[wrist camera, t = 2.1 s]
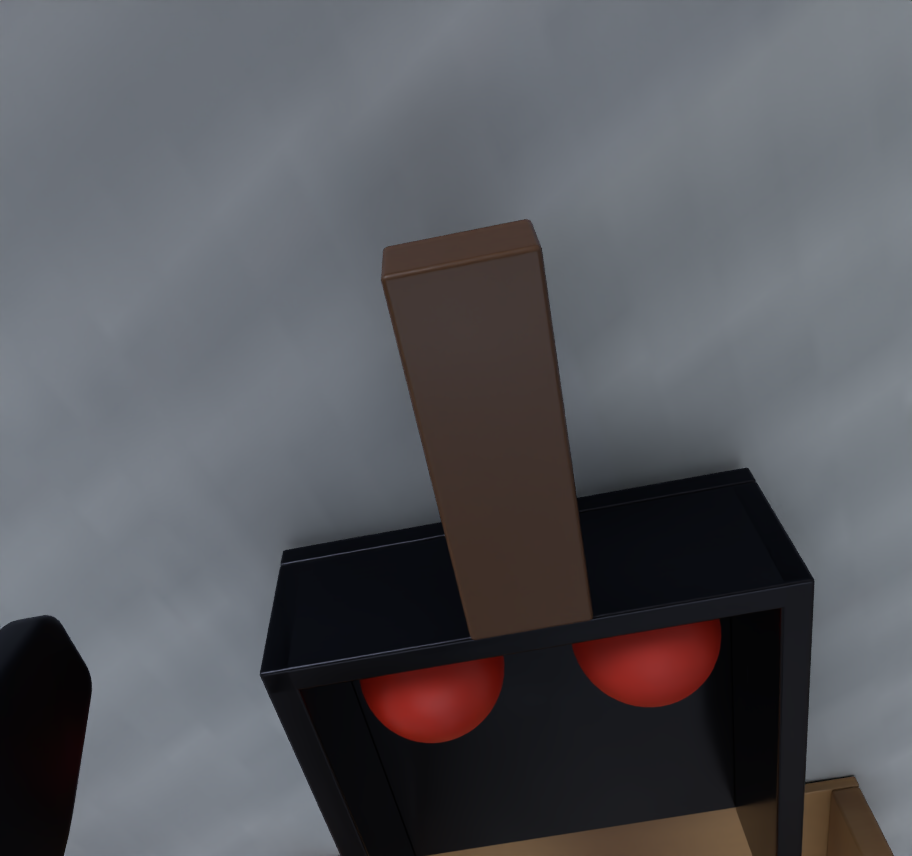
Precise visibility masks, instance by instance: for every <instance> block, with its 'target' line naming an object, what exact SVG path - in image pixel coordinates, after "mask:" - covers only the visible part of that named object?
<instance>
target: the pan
mask: <svg viewBox="0 0 912 856" xmlns="http://www.w3.org/2000/svg"><path fill="white" fill-rule="evenodd" d="M381 282H382V286H383V290H384V294H385V298H386V302H387V306H388V310H389V314H390V318H391V322H392V326H393V330H394V334H395V338H396V342H397V346H398V350H399V354H400V358H401V362H402V366H403V370H404V374H405V378H406V382H407V386H408V390H409V394H410V398H411V402H412V406H413V410H414V414H415V418H416V422H417V426H418V430H419V434H420V438H421V442H422V446H423V450H424V454H425V458H426V462H427V466H428V470H429V474H430V478H431V482H432V486H433V490H434V494H435V498H436V502H437V506H438V510H439V514H440V518H441V522H440V523H434V524H429V525H423V526H417V527H412V528H406V529H401V530H395V531H390V532H384V533H378V534H373V535H367V536H362V537H356V538H350V539H345V540H339V541H334V542H328V543H322V544H317V545H311V546H306V547H300V548H294V549H289V550H285V551H283V554H282V559H281V567H280V570H279V575H278V581H277V586H276V591H275V597H274V602H273V607H272V612H271V618H270V623H269V628H268V633H267V639H266V644H265V649H264V654H263V660H262V665H261V670H260V677H261V679H262V681H263V683H264V685H265V688H266V690H267V692H268V694H269V697H270V699H271V701H272V703H273V706H274V708H275V710H276V712H277V715H278V717H279V719H280V721H281V723H282V726H283V728H284V730H285V732H286V735H287V737H288V739H289V741H290V744H291V746H292V748H293V750H294V753H295V755H296V757H297V759H298V761H299V764H300V766H301V768H302V770H303V773H304V775H305V777H306V779H307V782H308V784H309V786H310V788H311V791H312V793H313V795H314V797H315V799H316V802H317V804H318V806H319V808H320V811H321V813H322V815H323V817H324V820H325V822H326V824H327V826H328V829H329V831H330V833H331V835H332V837H333V840H334V842H335V844H336V846H337V849H338V851H339V853H340V855H341V856H429V855H435V854H442V853H448V852H454V851H461V850H467V849H474V848H480V847H486V846H493V845H499V844H506V843H512V842H518V841H525V840H531V839H538V838H544V837H550V836H557V835H563V834H570V833H576V832H582V831H589V830H595V829H602V828H608V827H614V826H621V825H627V824H633V823H640V822H646V821H653V820H659V819H665V818H672V817H678V816H685V815H691V814H697V813H704V812H710V811H717V810H723V809H729V808H736V811H737V814H738V817H739V820H740V823H741V825H742V828H743V831H744V834H745V837H746V839H747V842H748V845H749V848H750V850H751V853H752V856H802V839H803V817H804V796H805V774H806V752H807V731H808V709H809V687H810V666H811V644H812V622H813V601H814V578H813V577H812V575H811V573H810V572H809V570H808V568H807V567H806V565H805V563H804V562H803V560H802V558H801V556H800V555H799V553H798V551H797V550H796V548H795V546H794V545H793V543H792V541H791V540H790V538H789V536H788V535H787V533H786V531H785V530H784V528H783V526H782V524H781V523H780V521H779V519H778V518H777V516H776V514H775V513H774V511H773V509H772V508H771V506H770V504H769V503H768V501H767V499H766V498H765V496H764V494H763V492H762V491H761V489H760V487H759V486H758V484H757V483H756V480H755V479H754V477H753V475H752V474H751V472H750V470H749V469H748V468H742V469H736V470H730V471H725V472H719V473H714V474H708V475H703V476H697V477H691V478H686V479H680V480H675V481H669V482H663V483H658V484H652V485H647V486H641V487H635V488H630V489H624V490H619V491H613V492H608V493H602V494H596V495H591V496H585V497H580V498H577V496H576V489H575V482H574V474H573V467H572V460H571V453H570V446H569V439H568V432H567V425H566V418H565V410H564V403H563V396H562V389H561V382H560V375H559V368H558V361H557V354H556V346H555V339H554V332H553V325H552V318H551V311H550V304H549V297H548V290H547V283H546V275H545V268H544V261H543V254H542V248H541V245H540V243H539V240H538V237H537V235H536V232H535V230H534V227H533V224H532V222H531V221H530V220H527V219H524V220H519V221H514V222H509V223H504V224H499V225H494V226H489V227H484V228H479V229H474V230H469V231H464V232H459V233H454V234H449V235H444V236H439V237H434V238H429V239H424V240H419V241H413V242H408V243H403V244H398V245H393V246H388V247H386V248H384V250H383V259H382V274H381ZM717 619H720V625H721V645H720V651H719V655H718V658H717V661H716V663H715V666H714V668H713V670H712V672H711V674H710V675H709V677H708V678H707V679H706V681H705V682H704V683H703V684H702V685H701V686H700V687H699V688H698V689H697V690H696V691H695V692H693V693H692V694H691V695H689V696H688V697H686V698H684V699H682V700H680V701H678V702H676V703H673V704H670V705H666V706H661V707H639V706H633V705H629V704H625V703H623V702H620V701H618V700H616V699H614V698H612V697H610V696H608V695H606V694H605V693H604V692H602V691H601V690H600V689H599V688H597V687H596V686H595V685H594V684H593V683H592V682H591V681H590V680H589V678H588V677H587V676H586V675H585V673H584V672H583V670H582V669H581V667H580V665H579V664H578V662H577V659H576V657H575V654H574V651H573V648H572V644H575V643H581V642H586V641H592V640H598V639H604V638H610V637H616V636H622V635H628V634H634V633H640V632H646V631H651V630H657V629H663V628H669V627H675V626H681V625H687V624H693V623H699V622H705V621H711V620H717ZM498 656H504V679H503V685H502V688H501V691H500V694H499V697H498V699H497V701H496V703H495V705H494V707H493V709H492V710H491V712H490V713H489V714H488V716H487V717H486V718H485V719H484V720H483V721H482V722H481V723H480V724H479V725H478V726H477V727H476V728H474V729H473V730H471V731H470V732H468V733H467V734H465V735H463V736H461V737H459V738H456V739H453V740H450V741H446V742H441V743H421V742H416V741H412V740H409V739H406V738H403V737H401V736H399V735H397V734H395V733H394V732H392V731H391V730H389V729H388V728H387V727H385V726H384V725H383V724H382V723H381V722H380V721H379V720H378V719H377V718H376V716H375V715H374V714H373V712H372V711H371V709H370V708H369V706H368V704H367V702H366V700H365V698H364V695H363V692H362V690H361V685H360V680H362V679H368V678H374V677H379V676H385V675H391V674H397V673H403V672H409V671H415V670H421V669H427V668H433V667H439V666H445V665H450V664H456V663H462V662H468V661H474V660H480V659H486V658H492V657H498Z"/></svg>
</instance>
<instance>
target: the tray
mask: <svg viewBox="0 0 912 856" xmlns="http://www.w3.org/2000/svg"><path fill="white" fill-rule="evenodd" d="M429 856H752V853H751V850H750V848H749V845H748V842H747V839H746V837H745V834H744V831H743V828H742V825H741V823H740V820H739V817H738V814H737V811H736V808H729V809H723V810H717V811H710V812H704V813H697V814H691V815H685V816H678V817H672V818H665V819H659V820H653V821H646V822H640V823H633V824H627V825H621V826H614V827H608V828H602V829H595V830H589V831H582V832H576V833H570V834H563V835H557V836H550V837H544V838H538V839H531V840H525V841H518V842H512V843H506V844H499V845H493V846H486V847H480V848H474V849H467V850H461V851H454V852H448V853H442V854H435V855H429ZM802 856H894V855H893V853H892V851H891V849H890V847H889V845H888V843H887V841H886V839H885V837H884V835H883V833H882V831H881V829H880V827H879V825H878V823H877V821H876V819H875V817H874V815H873V813H872V811H871V809H870V807H869V805H868V803H867V801H866V799H865V797H864V795H863V793H862V791H861V790H860V788H859V784H858V782H857V780H856V778H855V777H854V776H853V777H846V778H840V779H834V780H827V781H821V782H815V783H808V784H805V796H804V817H803V839H802Z"/></svg>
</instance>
